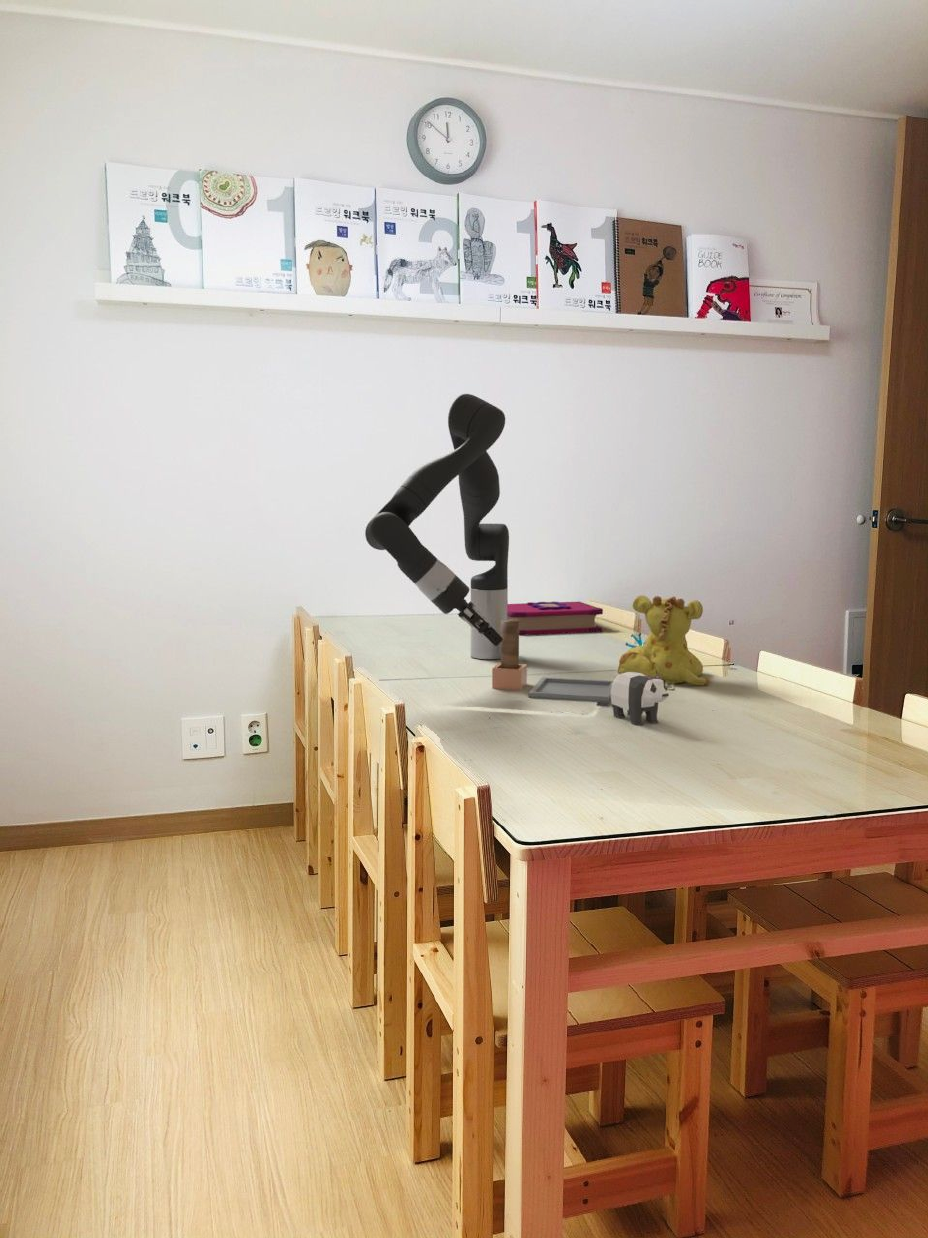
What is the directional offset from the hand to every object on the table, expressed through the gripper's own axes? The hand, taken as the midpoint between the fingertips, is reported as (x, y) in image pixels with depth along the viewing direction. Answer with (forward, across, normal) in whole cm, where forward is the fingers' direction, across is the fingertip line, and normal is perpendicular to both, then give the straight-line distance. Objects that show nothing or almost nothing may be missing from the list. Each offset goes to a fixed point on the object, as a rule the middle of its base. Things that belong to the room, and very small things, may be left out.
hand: (497, 639), depth 213 cm
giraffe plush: (+36, -10, +19) cm, 42 cm away
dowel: (+9, -1, -5) cm, 11 cm away
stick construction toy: (+37, -32, +21) cm, 54 cm away
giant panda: (+25, +28, +8) cm, 38 cm away
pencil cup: (+10, -1, -6) cm, 11 cm away
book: (+25, -85, +11) cm, 90 cm away
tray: (+19, +5, +3) cm, 20 cm away
